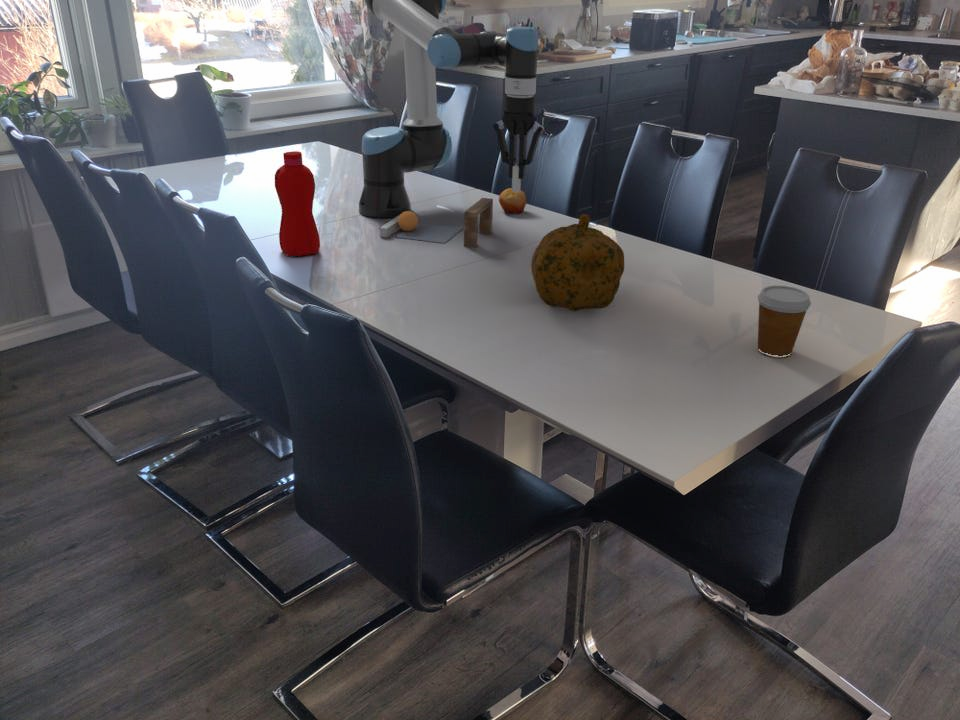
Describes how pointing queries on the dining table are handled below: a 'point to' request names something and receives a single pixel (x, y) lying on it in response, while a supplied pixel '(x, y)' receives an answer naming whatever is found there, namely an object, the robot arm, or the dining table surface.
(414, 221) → the ball
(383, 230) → the wall
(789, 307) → the disposable coffee cup
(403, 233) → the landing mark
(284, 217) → the water bottle
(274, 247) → the dining table surface
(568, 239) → the decorative pumpkin
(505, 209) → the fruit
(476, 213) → the bridge
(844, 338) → the dining table surface
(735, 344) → the dining table surface
